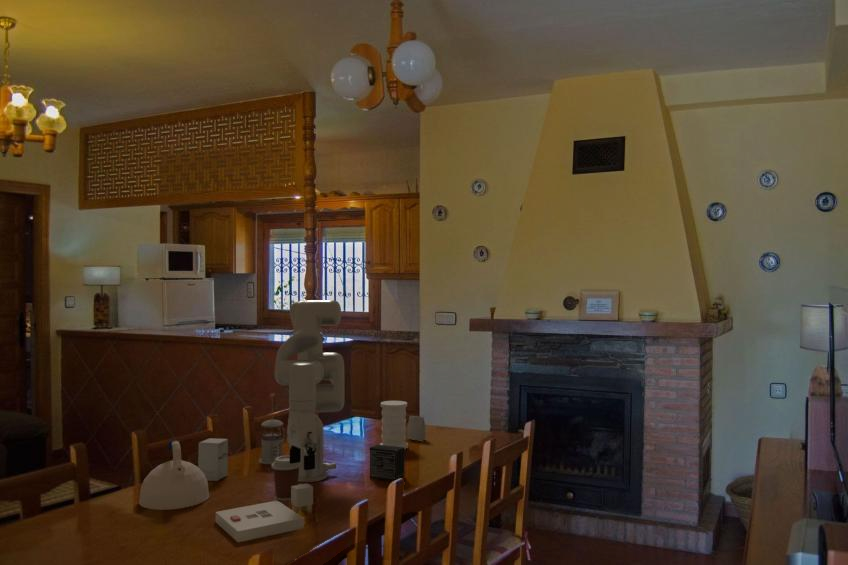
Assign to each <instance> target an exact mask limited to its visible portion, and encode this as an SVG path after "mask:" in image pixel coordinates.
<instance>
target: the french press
mask: <svg viewBox="0 0 848 565" xmlns="http://www.w3.org/2000/svg"><path fill="white" fill-rule="evenodd" d="M275 395H276V394H275V393H270V395H269V397H270V398H271V419H267V420H264V421H263V422H261V424H260V425H261V426H262V427H263V428H271V432H267V433H266V432H265V433H263V434H262V438H261V453H260V454H261V458H260V459H259V460H258V463H260V464H264V465H272V463H274V461H275V458H277V457H280V456H284V455H283V450H284V448H283V444H284V443H283V442H284V440H285V436H283V433H281V428H282V430H283V432H285V429H284V427H283V425H284V422H282V421H281V420H279V419H274V418H273V417H274V416H273V415H274V414H273V412H274V411H273V408H274V407H273V406H274V405H273V404H274V402H273V399H274V397H275ZM273 428H276V430H279V432H273V431H274V430H273ZM282 436H283V437H282Z"/></svg>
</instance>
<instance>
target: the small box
mask: <svg viewBox="0 0 848 565" xmlns="http://www.w3.org/2000/svg"><path fill="white" fill-rule="evenodd" d="M403 477H404V478H405V450H404V447H397V446H387V445H380V444H377V445H374V446H371V447H369V478H370V479H373V480H382V481H389V482H394V481H393V480H396V479H398V478H402V479H404V478H403Z"/></svg>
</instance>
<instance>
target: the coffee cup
mask: <svg viewBox="0 0 848 565" xmlns="http://www.w3.org/2000/svg"><path fill="white" fill-rule="evenodd" d="M270 465H271V466H270V467H271V469H273V478H274V493H275V499H276V501H282V502H283V501H291V486H295V485H299V482H298V477H299V467H301V462H299V463H292V464H291V463H290V455H283V456H280V457H277V458H275V461H274V463H272V464H270Z"/></svg>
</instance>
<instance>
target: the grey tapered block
mask: <svg viewBox="0 0 848 565" xmlns="http://www.w3.org/2000/svg"><path fill="white" fill-rule="evenodd" d="M407 421H408V422H407V426H406V440H407V439H412V440H421V441H422V440H424V439H425V440H426V422H425V417H424V416H418V415H415V416H414V415H409V417H408V420H407ZM422 442H423V441H422Z"/></svg>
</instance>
